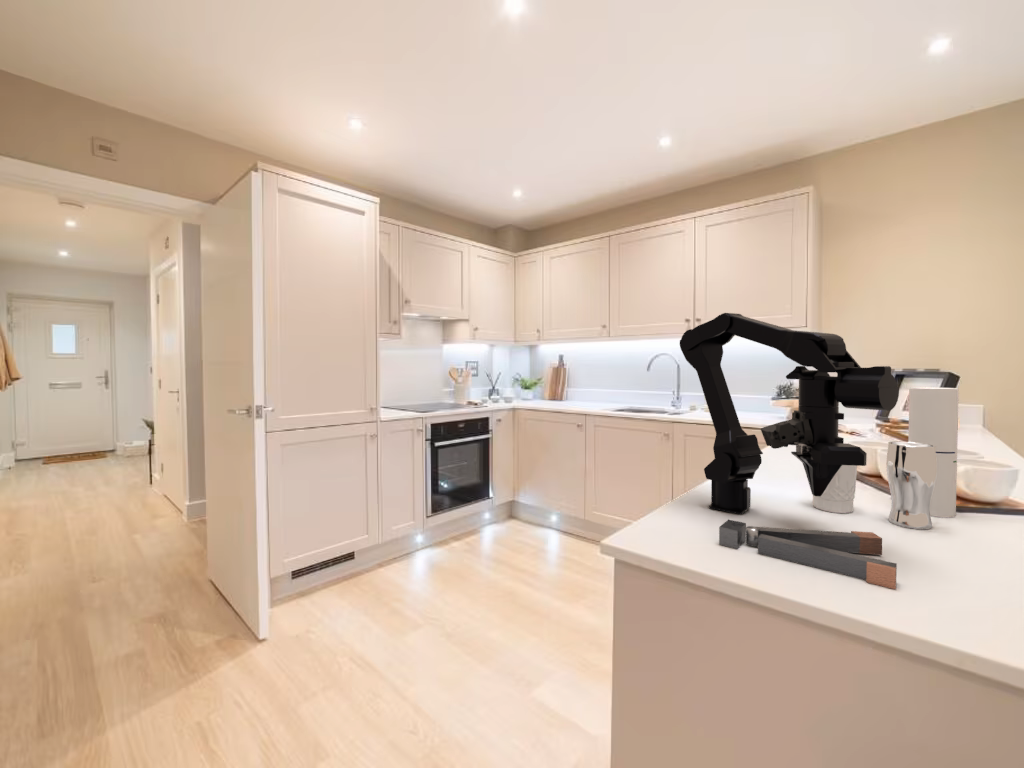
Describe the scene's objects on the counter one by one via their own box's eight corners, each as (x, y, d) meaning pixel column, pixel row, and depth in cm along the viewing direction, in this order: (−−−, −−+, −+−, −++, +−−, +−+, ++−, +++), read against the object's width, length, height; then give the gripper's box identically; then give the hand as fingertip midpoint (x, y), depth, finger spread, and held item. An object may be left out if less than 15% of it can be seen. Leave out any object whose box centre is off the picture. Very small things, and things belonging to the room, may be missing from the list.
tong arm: (748, 545, 73) (748, 530, 73) (743, 539, 75) (743, 524, 75) (882, 555, 68) (882, 538, 68) (872, 548, 71) (872, 532, 71)
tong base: (718, 545, 73) (718, 527, 73) (728, 536, 77) (728, 519, 77) (895, 589, 58) (895, 566, 58) (897, 575, 62) (897, 554, 62)
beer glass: (945, 531, 78) (947, 447, 78) (900, 529, 80) (902, 446, 79) (918, 518, 85) (920, 441, 85) (877, 516, 87) (878, 440, 86)
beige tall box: (897, 507, 93) (899, 387, 92) (928, 505, 93) (931, 387, 92) (932, 518, 85) (935, 389, 85) (966, 517, 86) (969, 388, 85)
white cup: (843, 517, 87) (844, 466, 87) (801, 506, 94) (802, 459, 94) (864, 510, 90) (865, 462, 90) (822, 500, 97) (823, 455, 97)
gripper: (750, 401, 87) (749, 480, 88) (787, 410, 69) (785, 509, 70) (814, 402, 85) (812, 483, 85) (869, 411, 67) (867, 514, 67)
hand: (816, 495), depth 77 cm, fingers closed
